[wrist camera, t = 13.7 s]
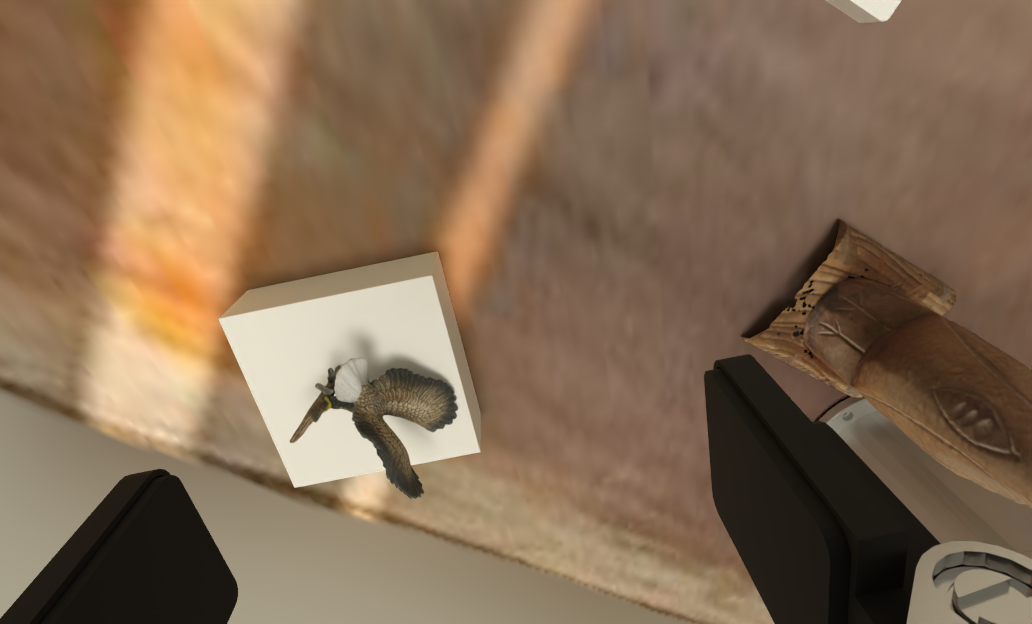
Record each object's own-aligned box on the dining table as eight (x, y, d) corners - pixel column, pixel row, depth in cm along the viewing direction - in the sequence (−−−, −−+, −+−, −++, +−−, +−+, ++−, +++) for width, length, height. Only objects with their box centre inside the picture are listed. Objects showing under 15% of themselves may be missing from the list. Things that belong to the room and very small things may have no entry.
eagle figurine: (302, 439, 39) (420, 497, 40) (274, 443, 32) (417, 513, 33) (357, 341, 41) (470, 397, 42) (342, 325, 34) (477, 393, 35)
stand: (438, 251, 41) (431, 275, 36) (480, 413, 47) (480, 452, 42) (247, 290, 41) (218, 318, 37) (313, 446, 47) (294, 487, 42)
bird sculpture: (825, 211, 42) (1596, 568, 12) (946, 279, 44) (1845, 718, 14) (734, 336, 45) (1154, 836, 16) (850, 393, 48) (1404, 921, 18)
